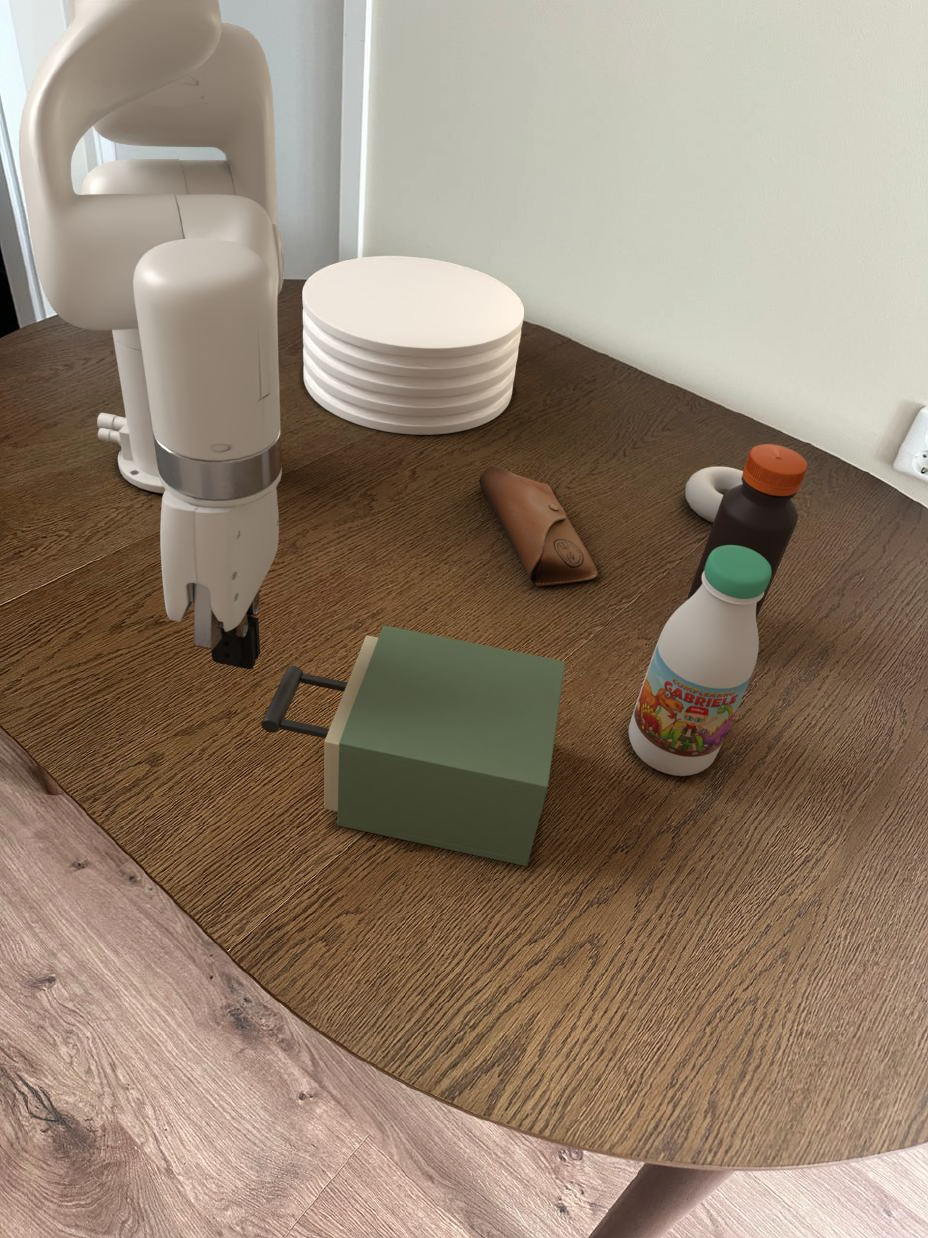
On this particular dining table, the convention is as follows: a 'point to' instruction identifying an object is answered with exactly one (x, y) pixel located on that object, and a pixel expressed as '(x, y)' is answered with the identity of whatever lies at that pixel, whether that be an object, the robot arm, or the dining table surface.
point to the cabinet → (450, 745)
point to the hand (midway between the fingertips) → (236, 658)
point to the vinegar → (758, 509)
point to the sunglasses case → (537, 529)
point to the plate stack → (410, 343)
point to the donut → (710, 489)
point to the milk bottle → (701, 666)
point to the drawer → (332, 735)
